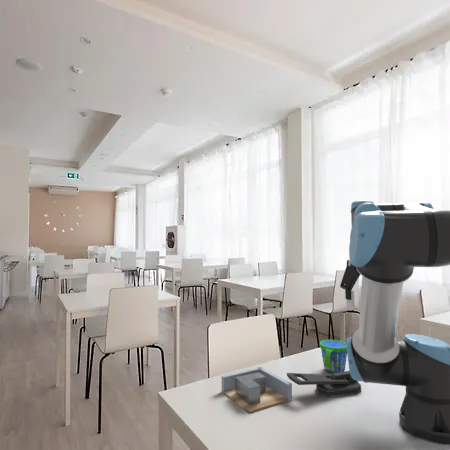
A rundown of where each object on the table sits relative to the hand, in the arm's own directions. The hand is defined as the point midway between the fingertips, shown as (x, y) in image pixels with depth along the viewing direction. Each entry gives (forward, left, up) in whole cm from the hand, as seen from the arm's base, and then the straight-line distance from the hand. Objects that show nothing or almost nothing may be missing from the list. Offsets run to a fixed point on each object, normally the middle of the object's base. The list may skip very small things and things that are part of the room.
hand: (365, 307), depth 116 cm
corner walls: (+14, +36, -27) cm, 47 cm away
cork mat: (+13, +37, -27) cm, 47 cm away
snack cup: (+16, -2, -27) cm, 31 cm away
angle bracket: (+13, +38, -26) cm, 47 cm away
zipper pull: (+4, +15, -27) cm, 31 cm away
